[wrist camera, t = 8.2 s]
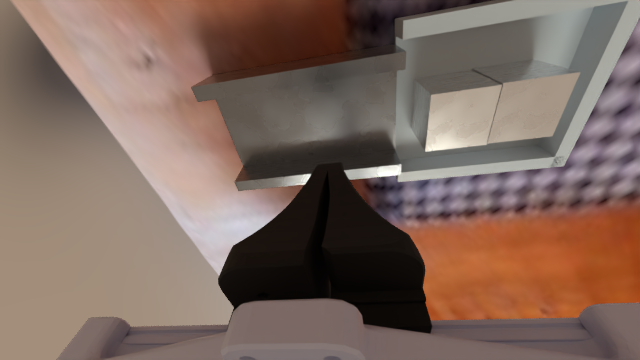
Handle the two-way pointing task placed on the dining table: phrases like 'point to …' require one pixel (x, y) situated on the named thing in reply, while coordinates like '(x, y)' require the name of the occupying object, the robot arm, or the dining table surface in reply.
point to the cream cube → (453, 109)
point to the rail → (311, 116)
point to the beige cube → (528, 98)
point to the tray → (505, 47)
